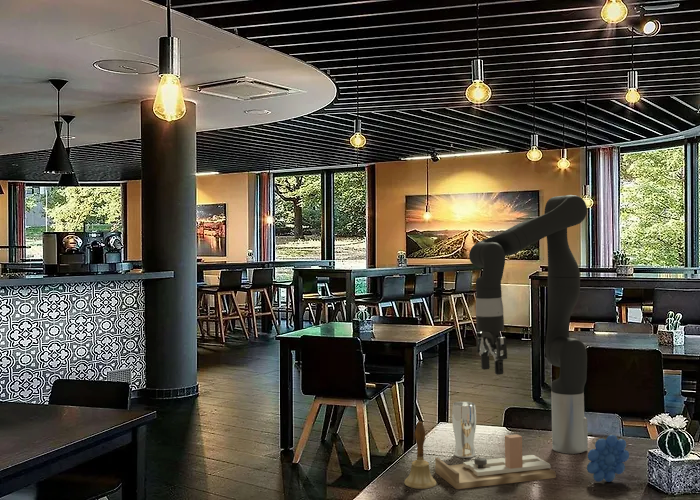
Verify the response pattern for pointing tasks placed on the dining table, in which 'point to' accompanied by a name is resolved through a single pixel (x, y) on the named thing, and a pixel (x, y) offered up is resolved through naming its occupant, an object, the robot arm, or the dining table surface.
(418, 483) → the hand bell
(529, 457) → the panel
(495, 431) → the dining table surface
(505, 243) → the robot arm
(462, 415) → the beer glass
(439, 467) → the boss board
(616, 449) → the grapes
